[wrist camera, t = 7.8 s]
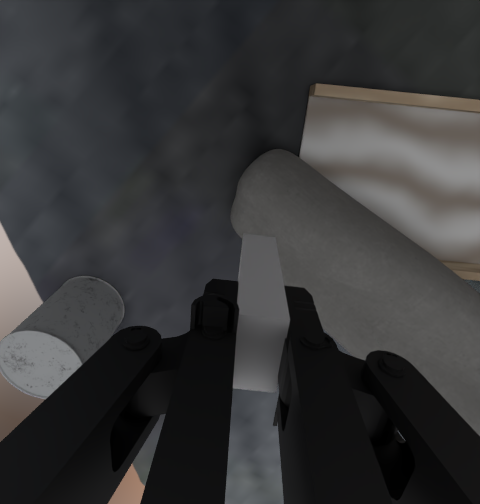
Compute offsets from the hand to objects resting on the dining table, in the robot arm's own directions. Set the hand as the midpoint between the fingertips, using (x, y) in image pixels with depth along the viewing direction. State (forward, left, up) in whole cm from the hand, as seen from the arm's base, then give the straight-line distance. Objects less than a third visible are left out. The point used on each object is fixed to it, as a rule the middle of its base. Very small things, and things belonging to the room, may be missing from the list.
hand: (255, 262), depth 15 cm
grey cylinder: (+21, -21, -25) cm, 39 cm away
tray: (0, +21, -25) cm, 33 cm away
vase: (0, 0, -21) cm, 21 cm away
